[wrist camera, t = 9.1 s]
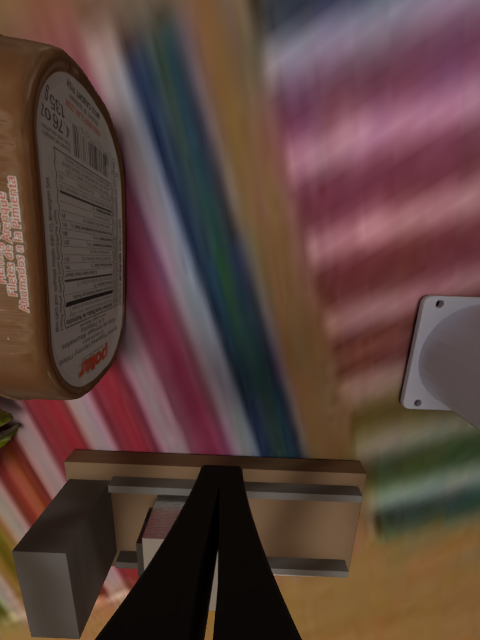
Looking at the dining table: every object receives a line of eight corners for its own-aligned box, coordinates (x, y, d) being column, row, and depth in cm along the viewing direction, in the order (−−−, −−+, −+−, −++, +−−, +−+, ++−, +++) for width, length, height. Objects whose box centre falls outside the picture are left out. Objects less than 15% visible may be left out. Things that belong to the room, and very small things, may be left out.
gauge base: (359, 461, 20) (408, 546, 14) (342, 560, 22) (378, 669, 16) (74, 449, 20) (3, 530, 14) (88, 549, 22) (32, 654, 16)
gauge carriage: (227, 494, 19) (223, 541, 16) (224, 576, 21) (221, 633, 17) (150, 491, 19) (132, 537, 16) (155, 573, 21) (139, 630, 17)
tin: (81, 112, 14) (-130, -80, 6) (136, 118, 15) (-2, -66, 6) (90, 358, 18) (-38, 441, 10) (135, 362, 18) (44, 448, 10)
